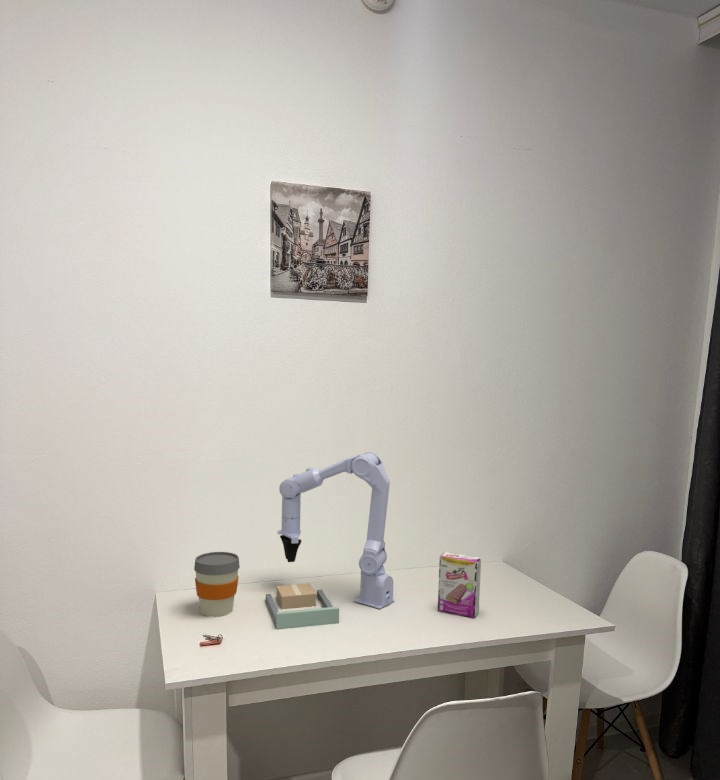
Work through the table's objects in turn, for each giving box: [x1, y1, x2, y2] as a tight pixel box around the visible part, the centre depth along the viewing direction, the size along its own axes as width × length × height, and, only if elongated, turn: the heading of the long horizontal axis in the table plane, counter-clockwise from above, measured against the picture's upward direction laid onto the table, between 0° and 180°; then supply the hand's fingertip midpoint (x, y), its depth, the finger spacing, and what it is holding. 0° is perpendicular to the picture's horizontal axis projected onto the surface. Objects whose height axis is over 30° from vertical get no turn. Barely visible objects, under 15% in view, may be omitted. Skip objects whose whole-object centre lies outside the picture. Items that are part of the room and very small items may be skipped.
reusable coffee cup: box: [193, 551, 240, 618], centre depth 180 cm, size 12×12×15 cm
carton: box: [276, 582, 317, 610], centre depth 188 cm, size 9×10×4 cm
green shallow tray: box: [265, 589, 340, 630], centre depth 181 cm, size 20×17×4 cm
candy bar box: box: [437, 551, 482, 619], centre depth 183 cm, size 11×5×16 cm, turn 65°
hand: (290, 560), depth 197 cm, fingers open, 3 cm apart
